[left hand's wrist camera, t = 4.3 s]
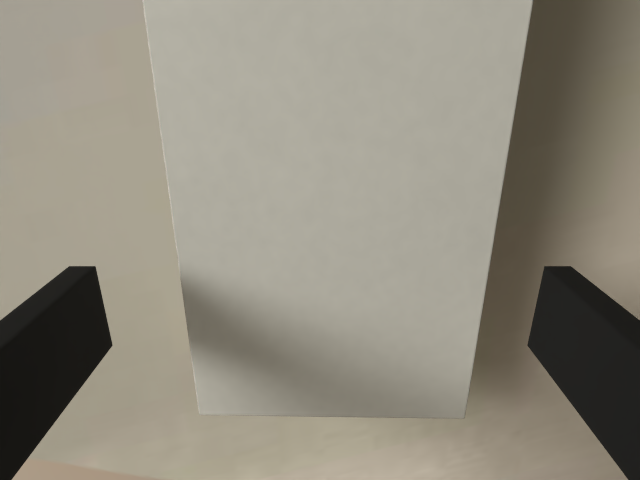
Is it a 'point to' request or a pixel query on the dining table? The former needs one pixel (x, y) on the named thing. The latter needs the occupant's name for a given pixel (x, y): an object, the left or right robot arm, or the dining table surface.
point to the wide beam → (335, 195)
